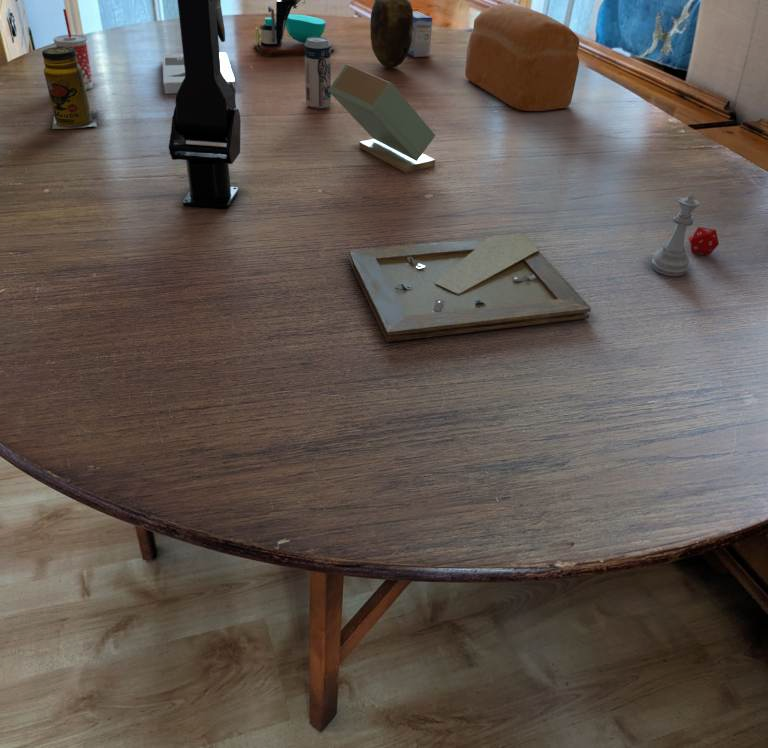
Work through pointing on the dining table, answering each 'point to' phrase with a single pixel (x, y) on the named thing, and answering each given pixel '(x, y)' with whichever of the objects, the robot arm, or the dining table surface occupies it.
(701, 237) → the die
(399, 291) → the picture frame
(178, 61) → the book
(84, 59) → the beverage cup
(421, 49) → the medicine box
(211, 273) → the dining table surface
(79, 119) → the condiment
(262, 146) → the dining table surface
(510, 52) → the bread
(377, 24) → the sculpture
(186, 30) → the robot arm
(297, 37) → the contraption on wooden base
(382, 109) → the green rectangular box
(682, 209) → the chess piece
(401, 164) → the shelf foot
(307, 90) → the beer can
